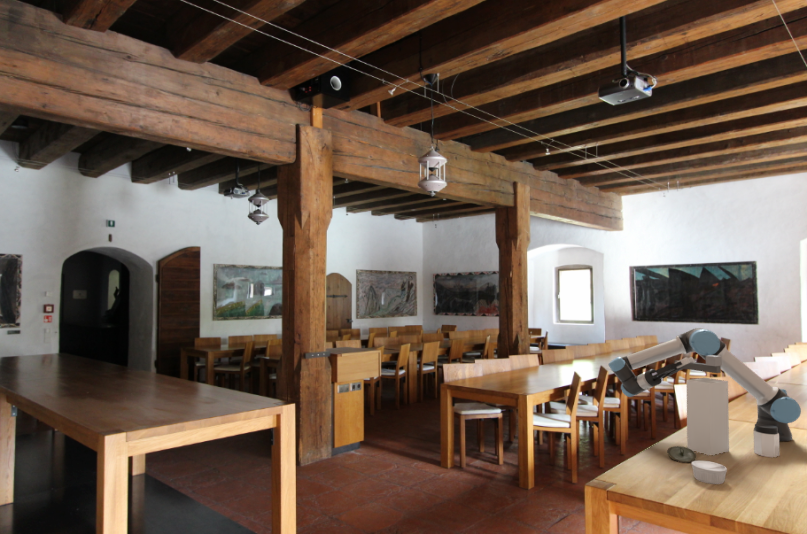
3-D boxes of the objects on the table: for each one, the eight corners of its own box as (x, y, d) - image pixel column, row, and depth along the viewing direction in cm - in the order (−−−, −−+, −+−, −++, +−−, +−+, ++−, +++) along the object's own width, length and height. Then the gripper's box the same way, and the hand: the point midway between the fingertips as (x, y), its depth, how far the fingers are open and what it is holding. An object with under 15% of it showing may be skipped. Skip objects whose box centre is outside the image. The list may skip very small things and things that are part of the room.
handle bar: (679, 366, 242) (679, 351, 242) (721, 372, 226) (721, 356, 226) (673, 367, 240) (672, 352, 240) (715, 373, 223) (715, 356, 224)
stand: (705, 445, 235) (705, 377, 236) (729, 451, 226) (728, 381, 228) (687, 449, 228) (686, 379, 229) (710, 456, 219) (709, 383, 221)
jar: (772, 458, 217) (772, 429, 217) (751, 453, 224) (750, 425, 224) (782, 455, 222) (781, 426, 222) (760, 450, 229) (760, 422, 229)
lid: (695, 457, 217) (695, 445, 217) (697, 464, 208) (697, 452, 208) (666, 454, 221) (666, 442, 222) (667, 460, 212) (667, 448, 212)
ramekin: (726, 488, 183) (726, 472, 184) (690, 481, 189) (690, 466, 189) (727, 478, 193) (727, 464, 193) (692, 472, 199) (692, 458, 199)
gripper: (663, 385, 255) (705, 366, 238) (642, 388, 246) (684, 368, 229) (656, 370, 258) (697, 351, 241) (635, 372, 250) (675, 352, 233)
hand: (690, 359), depth 235 cm, fingers closed on handle bar, 3 cm apart
